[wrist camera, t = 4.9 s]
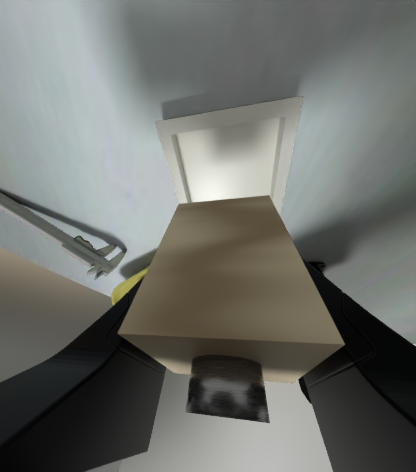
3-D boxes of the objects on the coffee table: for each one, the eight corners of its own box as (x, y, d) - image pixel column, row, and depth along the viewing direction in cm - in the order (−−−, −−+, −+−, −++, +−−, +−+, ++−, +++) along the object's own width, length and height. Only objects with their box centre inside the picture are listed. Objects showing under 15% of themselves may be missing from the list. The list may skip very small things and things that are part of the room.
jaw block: (269, 195, 7) (393, 438, 2) (261, 258, 10) (303, 427, 5) (178, 203, 8) (86, 399, 3) (195, 260, 11) (167, 409, 5)
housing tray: (293, 97, 12) (303, 95, 11) (274, 214, 19) (278, 224, 18) (162, 120, 14) (155, 122, 12) (189, 220, 21) (186, 229, 19)
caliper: (128, 248, 26) (107, 280, 21) (126, 252, 26) (105, 284, 22) (-31, 174, 19) (-116, 196, 14) (-29, 181, 20) (-109, 205, 15)
